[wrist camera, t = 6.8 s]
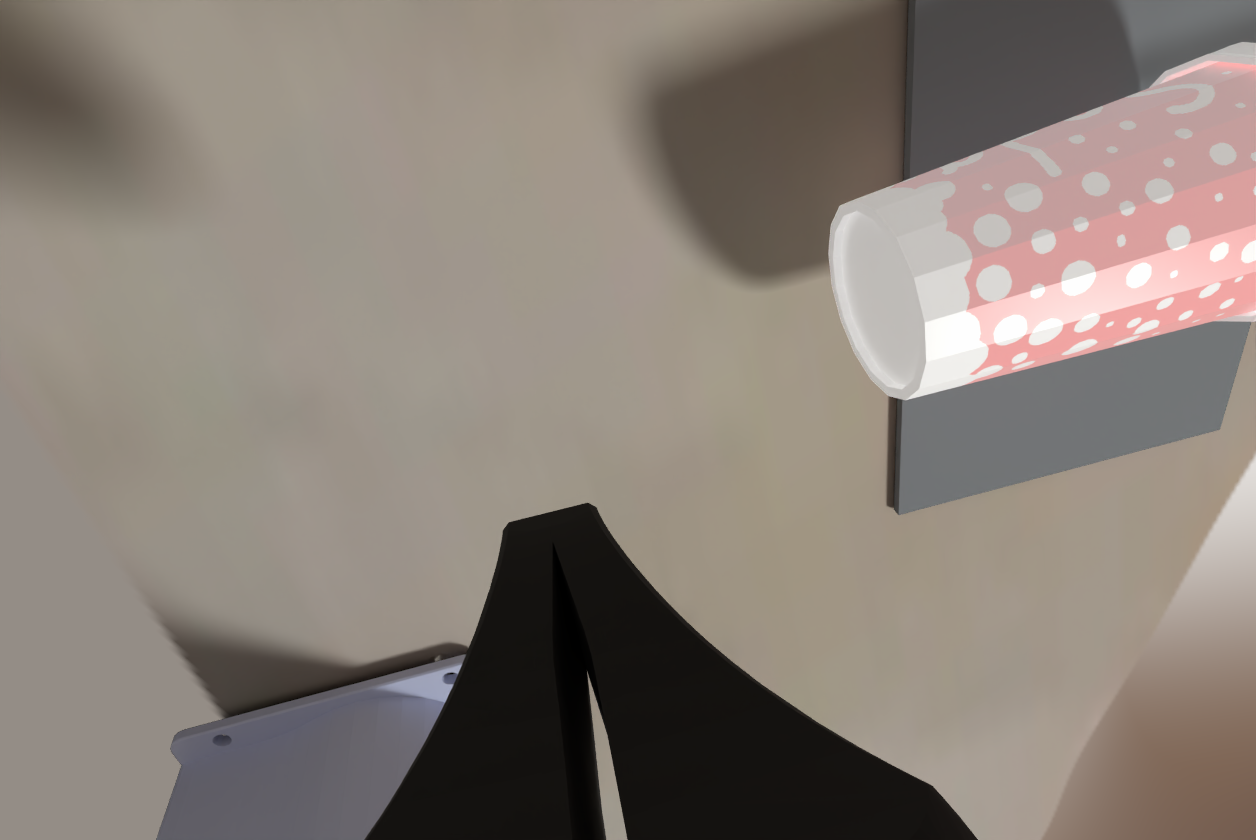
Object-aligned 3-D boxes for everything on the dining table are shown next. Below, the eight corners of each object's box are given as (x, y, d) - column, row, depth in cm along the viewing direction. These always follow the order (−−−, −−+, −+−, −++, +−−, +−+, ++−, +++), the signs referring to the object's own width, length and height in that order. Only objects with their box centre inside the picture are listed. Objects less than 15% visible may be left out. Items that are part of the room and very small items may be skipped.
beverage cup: (795, 216, 20) (1279, 66, 21) (869, 436, 20) (1357, 278, 21) (876, 112, 14) (1559, -98, 15) (985, 427, 14) (1674, 202, 14)
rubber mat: (894, 509, 25) (898, 515, 25) (912, -124, 16) (919, -125, 16) (1212, 425, 26) (1219, 429, 26) (1394, -214, 17) (1409, -217, 17)
